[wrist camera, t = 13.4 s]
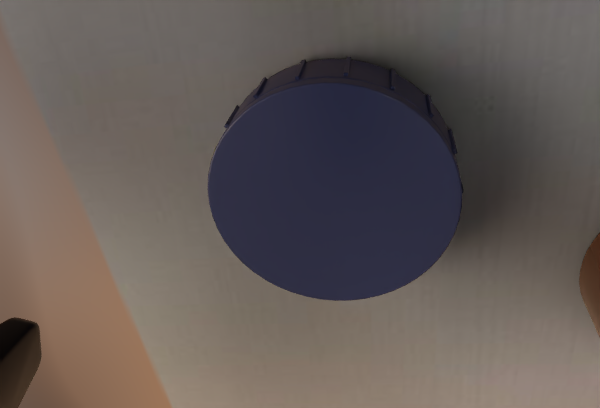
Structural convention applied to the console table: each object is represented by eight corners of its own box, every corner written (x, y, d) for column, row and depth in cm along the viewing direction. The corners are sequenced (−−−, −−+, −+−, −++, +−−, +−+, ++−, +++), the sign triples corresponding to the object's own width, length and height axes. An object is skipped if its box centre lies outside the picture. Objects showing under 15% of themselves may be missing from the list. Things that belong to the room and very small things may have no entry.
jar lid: (360, 295, 18) (358, 336, 17) (184, 187, 17) (163, 221, 15) (509, 152, 15) (524, 187, 13) (303, 1, 14) (292, 20, 12)
